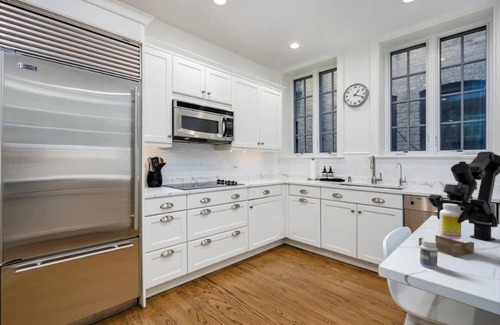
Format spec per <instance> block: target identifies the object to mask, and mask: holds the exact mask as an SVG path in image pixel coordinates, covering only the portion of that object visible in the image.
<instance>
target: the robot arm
mask: <svg viewBox="0 0 500 325" xmlns="http://www.w3.org/2000/svg"><path fill="white" fill-rule="evenodd" d="M450 171H451V173H452V176H453V178H454V180H455V182H457V184H450V183H445V185H444V188H443V190H442V191H443V193H445V194H446V197H447V198H448V199H447V198H443V196H442V194H441V195H440V194H433V193H432V194H429V196H428V198H427V199H428V201H429V202H430V203H431V205H432V206H433V207H434V208H437V219H438V220H440V211H441V210H443V209H444V208H443V204H444V203H449V204H457V205H458V208H459V207H460V208H463V210H462V212H461V215H460V217H459V219H458V223H461V224H462V223H463V222H465V221H467V220H468V223H469V224H472V225H473V235H472V234H471V235H470V236H469V237H470V238H473V239H478V240H480V241H485V242H489V241H495V240H496V238H495V237H492V228H498V224H499V223H498V219H497V216H496V213H495V211H494V209H493V208H492V206H491V203H492V198H493V192H494V189H495V183H496V177H497V176H498V175H499V174H500V155H499V154H496V153H495V152H493V151H480V152H477V154H476V156H475V158H474V159H473V160H471V162H470V163H467V162H466V161H459V163H455V164H453V165H452V166H451V167H450ZM478 181H480V185H479V190H478ZM476 190H478V194H477V195H478V196H477V199H474V197H473V194H474V191H476Z"/></svg>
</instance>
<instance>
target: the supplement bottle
mask: <svg viewBox="0 0 500 325" xmlns="http://www.w3.org/2000/svg"><path fill="white" fill-rule="evenodd" d="M443 208H444V209H443V210H441V211H440V219H439V236H442V237H444V238H447V239H453V240H461V238H462V223H458V219H459V217H460V215H461V214H462V212H460V211H458V209H459V207H458V205H457V204H449V203H444V204H443Z"/></svg>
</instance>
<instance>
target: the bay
mask: <svg viewBox="0 0 500 325" xmlns="http://www.w3.org/2000/svg"><path fill="white" fill-rule="evenodd" d="M422 239H424V237H418V246H419V247H420V246H421V245H422ZM434 241H436V248H437V249H438V252H439V253H441V254H445V255H447V256H451V257H454V258H456V257H462V256H466V255H470V254H471V255H472V254H474V253H475V242H473V241H468V242H464V241H459V240H458V239H447V238H444V237H442V236H440V235H438V234H436V235H435V240H434Z"/></svg>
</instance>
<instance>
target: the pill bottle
mask: <svg viewBox="0 0 500 325" xmlns="http://www.w3.org/2000/svg"><path fill="white" fill-rule="evenodd" d="M419 248H420V249H419V252H420V253H419V256H420V257H419V258H420V259H419V264H420V265H421V266H422V267H425V268H427V269H437V268H438V255H439V254H438V249H437V248H436V241H435V240H433V239H430V238H429V239H428V238H423V239H422V245H421V246H420V245H419Z"/></svg>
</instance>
